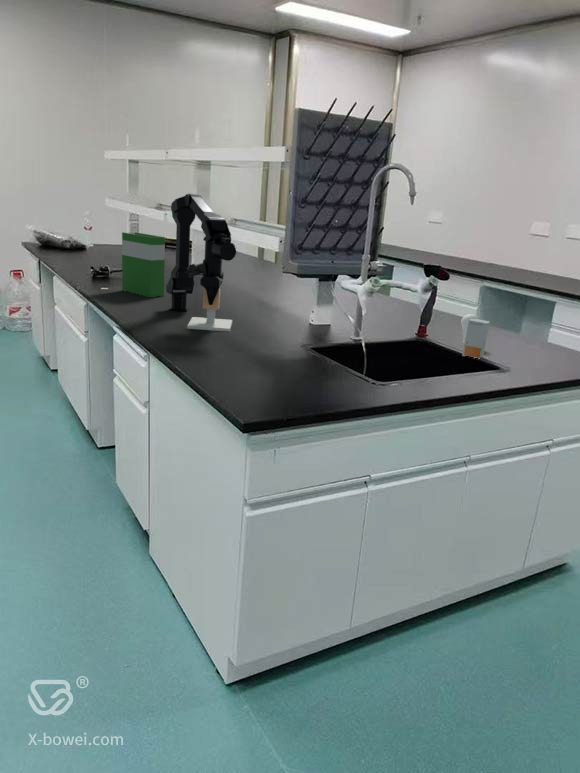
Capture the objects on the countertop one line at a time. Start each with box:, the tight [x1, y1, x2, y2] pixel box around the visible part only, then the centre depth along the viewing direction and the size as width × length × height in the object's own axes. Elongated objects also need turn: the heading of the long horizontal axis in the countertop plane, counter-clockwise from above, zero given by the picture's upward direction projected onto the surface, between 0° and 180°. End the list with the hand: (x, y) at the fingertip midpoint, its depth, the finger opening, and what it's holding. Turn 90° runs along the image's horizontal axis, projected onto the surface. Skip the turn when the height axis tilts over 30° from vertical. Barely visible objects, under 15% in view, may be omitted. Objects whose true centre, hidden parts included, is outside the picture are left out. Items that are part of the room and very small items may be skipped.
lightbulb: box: [460, 313, 480, 344], centre depth 206 cm, size 6×6×11 cm
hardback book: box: [121, 231, 166, 298], centre depth 246 cm, size 18×7×24 cm, turn 53°
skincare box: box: [461, 318, 491, 359], centre depth 190 cm, size 6×4×12 cm
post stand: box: [186, 309, 233, 333], centre depth 202 cm, size 14×14×8 cm
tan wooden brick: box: [202, 287, 221, 311], centre depth 200 cm, size 5×5×7 cm
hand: (211, 303), depth 201 cm, fingers closed on tan wooden brick, 5 cm apart
